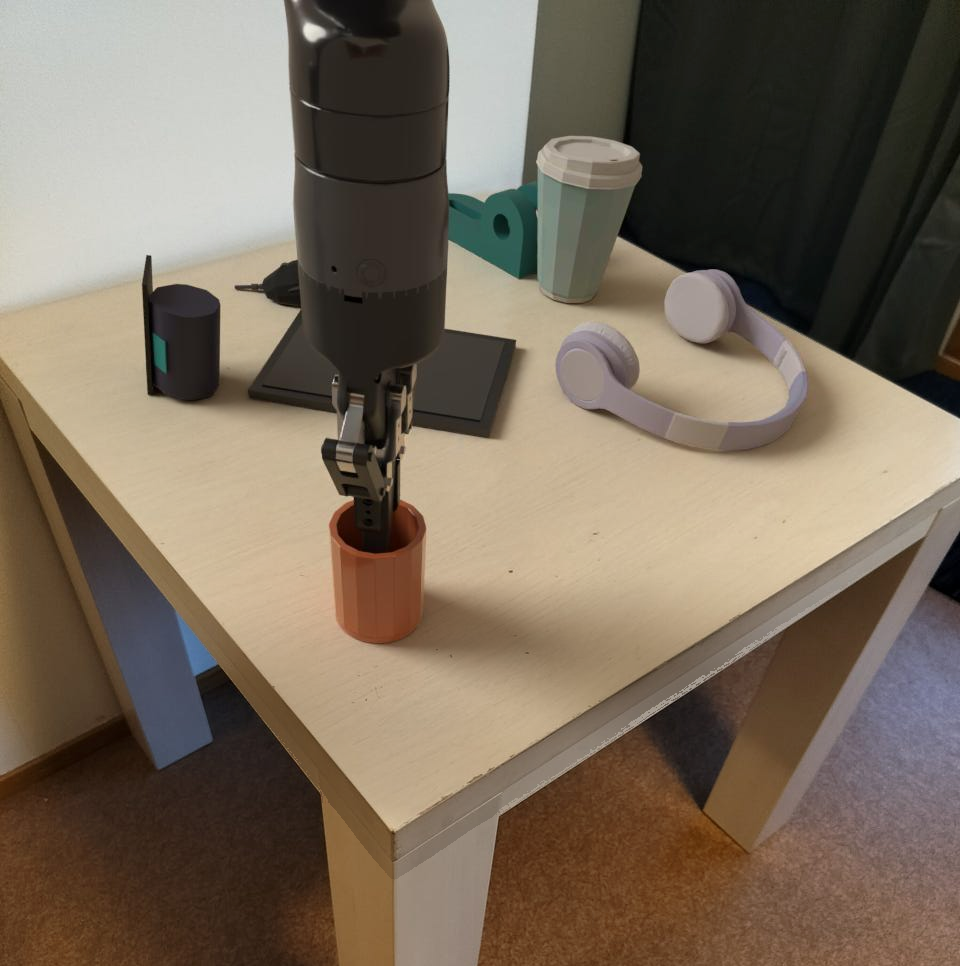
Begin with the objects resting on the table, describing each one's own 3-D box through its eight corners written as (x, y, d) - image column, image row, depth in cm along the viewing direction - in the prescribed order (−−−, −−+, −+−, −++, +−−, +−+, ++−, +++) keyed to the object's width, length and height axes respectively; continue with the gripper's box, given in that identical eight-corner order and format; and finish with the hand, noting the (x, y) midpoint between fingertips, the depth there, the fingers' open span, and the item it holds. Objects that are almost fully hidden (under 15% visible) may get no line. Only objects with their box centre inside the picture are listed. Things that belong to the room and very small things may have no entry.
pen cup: (324, 634, 62) (317, 548, 56) (348, 575, 66) (344, 488, 60) (411, 650, 62) (413, 565, 56) (430, 589, 66) (434, 504, 60)
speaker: (124, 393, 79) (110, 280, 72) (152, 363, 83) (142, 252, 76) (207, 414, 79) (202, 303, 72) (231, 383, 83) (228, 275, 76)
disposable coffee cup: (505, 275, 100) (519, 128, 89) (588, 262, 104) (611, 120, 93) (549, 320, 94) (570, 169, 83) (636, 305, 98) (667, 159, 87)
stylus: (360, 609, 63) (364, 459, 53) (366, 594, 64) (370, 444, 54) (382, 614, 63) (390, 465, 53) (388, 598, 64) (396, 449, 54)
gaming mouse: (241, 275, 96) (236, 237, 93) (379, 286, 96) (379, 249, 93) (228, 303, 92) (223, 265, 89) (373, 315, 92) (372, 277, 89)
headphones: (539, 385, 85) (710, 496, 77) (553, 317, 80) (738, 430, 72) (675, 313, 97) (834, 403, 89) (694, 250, 91) (866, 340, 84)
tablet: (248, 398, 81) (247, 388, 80) (303, 314, 91) (302, 304, 91) (488, 438, 79) (489, 428, 78) (515, 347, 90) (516, 338, 89)
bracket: (560, 263, 103) (570, 192, 97) (518, 278, 100) (526, 206, 94) (457, 207, 112) (460, 139, 106) (415, 220, 108) (416, 150, 102)
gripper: (338, 187, 50) (350, 447, 62) (252, 303, 40) (287, 580, 53) (471, 207, 49) (455, 465, 62) (415, 328, 40) (410, 602, 53)
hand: (377, 517), depth 57 cm, fingers closed
